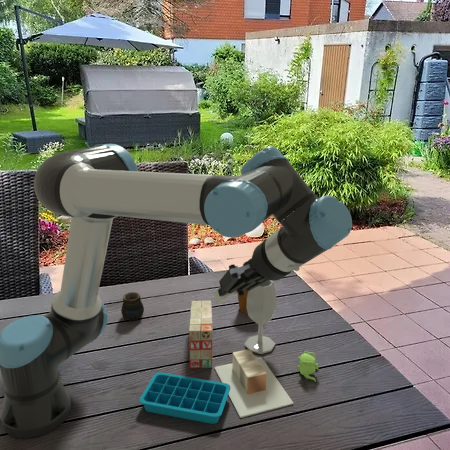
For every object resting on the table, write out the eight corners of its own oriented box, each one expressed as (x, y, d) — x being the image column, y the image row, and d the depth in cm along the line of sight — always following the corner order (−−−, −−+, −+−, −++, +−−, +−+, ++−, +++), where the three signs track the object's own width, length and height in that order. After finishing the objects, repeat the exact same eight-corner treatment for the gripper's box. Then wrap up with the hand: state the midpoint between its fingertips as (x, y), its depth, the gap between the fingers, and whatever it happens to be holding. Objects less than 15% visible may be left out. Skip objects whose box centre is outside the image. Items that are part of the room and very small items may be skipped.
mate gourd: (145, 311, 151) (144, 285, 147) (142, 323, 144) (140, 296, 140) (124, 311, 151) (122, 285, 147) (119, 324, 143) (117, 296, 140)
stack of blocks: (192, 326, 143) (191, 291, 138) (211, 326, 143) (211, 291, 139) (189, 369, 122) (188, 330, 118) (212, 368, 123) (212, 329, 119)
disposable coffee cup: (267, 306, 154) (268, 275, 150) (253, 319, 147) (254, 286, 143) (243, 299, 159) (244, 268, 155) (229, 310, 151) (229, 278, 147)
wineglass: (280, 345, 133) (284, 281, 126) (262, 358, 127) (264, 292, 120) (257, 334, 138) (259, 272, 131) (239, 346, 132) (240, 282, 125)
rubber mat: (240, 418, 105) (240, 416, 105) (214, 368, 123) (214, 367, 123) (293, 404, 110) (293, 402, 110) (261, 358, 127) (261, 356, 127)
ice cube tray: (156, 380, 118) (156, 371, 117) (231, 394, 113) (231, 384, 112) (138, 412, 107) (137, 402, 106) (220, 428, 102) (220, 417, 101)
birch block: (248, 377, 111) (232, 352, 120) (247, 394, 112) (232, 368, 122) (266, 373, 112) (249, 348, 122) (265, 389, 114) (249, 364, 124)
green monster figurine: (316, 383, 117) (317, 364, 115) (295, 379, 119) (296, 360, 117) (318, 368, 123) (320, 351, 121) (299, 365, 124) (300, 347, 122)
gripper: (257, 275, 76) (195, 317, 94) (313, 271, 83) (246, 311, 101) (245, 235, 79) (188, 283, 96) (300, 235, 86) (237, 280, 104)
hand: (217, 297), depth 99 cm, fingers closed
